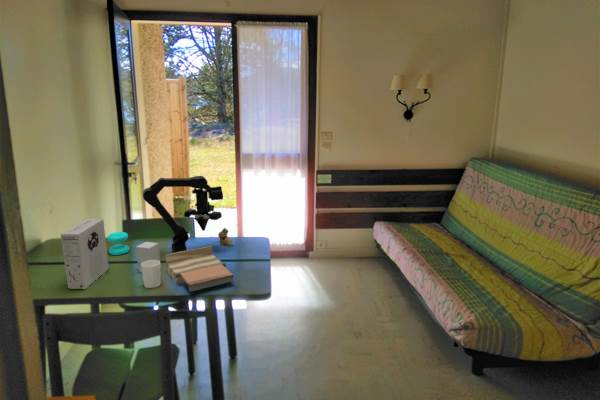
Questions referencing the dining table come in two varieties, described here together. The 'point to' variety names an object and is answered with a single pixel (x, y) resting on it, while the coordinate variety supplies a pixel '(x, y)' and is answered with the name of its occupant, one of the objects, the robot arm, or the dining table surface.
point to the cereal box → (85, 253)
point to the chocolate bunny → (225, 238)
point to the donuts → (118, 248)
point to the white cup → (151, 273)
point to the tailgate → (207, 277)
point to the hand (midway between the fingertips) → (203, 230)
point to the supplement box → (147, 253)
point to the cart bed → (190, 262)
